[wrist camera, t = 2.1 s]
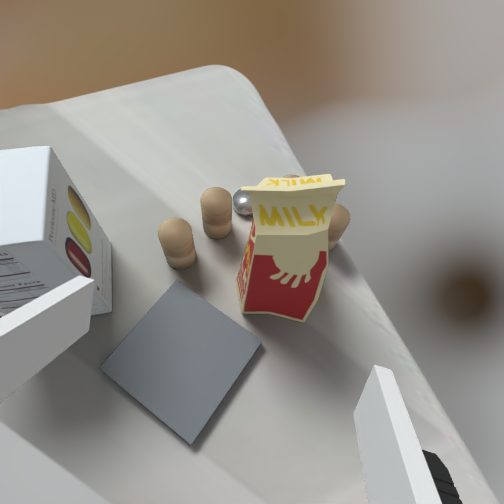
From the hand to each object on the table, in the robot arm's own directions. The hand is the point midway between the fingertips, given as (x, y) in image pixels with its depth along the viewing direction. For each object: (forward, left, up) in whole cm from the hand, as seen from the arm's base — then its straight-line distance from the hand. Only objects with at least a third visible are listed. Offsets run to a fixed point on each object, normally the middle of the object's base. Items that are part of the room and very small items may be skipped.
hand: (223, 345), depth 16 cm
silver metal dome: (-12, +20, -23) cm, 33 cm away
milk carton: (-3, +13, -23) cm, 27 cm away
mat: (-6, 0, -23) cm, 24 cm away
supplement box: (-22, -1, -23) cm, 32 cm away
